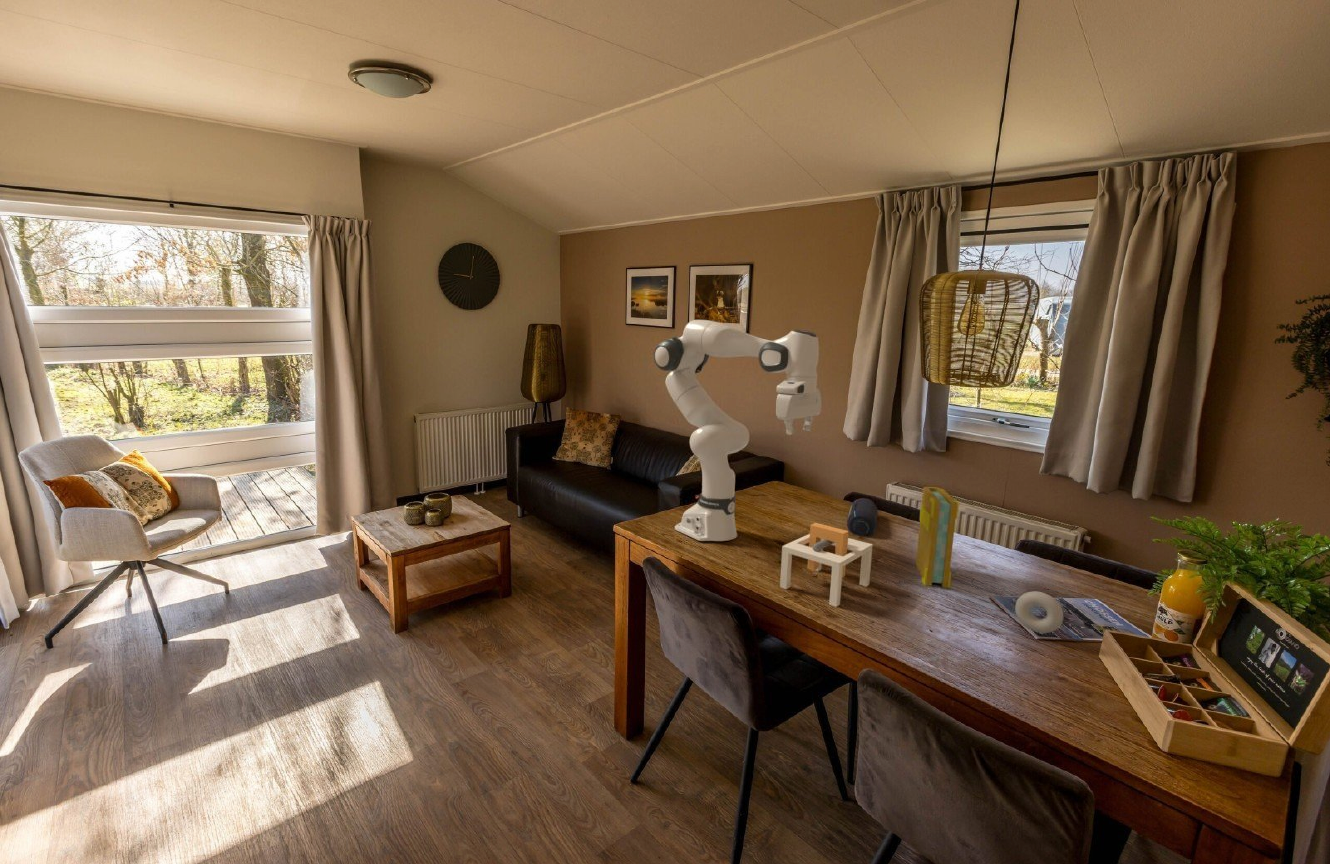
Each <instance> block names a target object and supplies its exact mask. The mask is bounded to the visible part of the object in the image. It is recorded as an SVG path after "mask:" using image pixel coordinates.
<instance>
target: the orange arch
mask: <svg viewBox="0 0 1330 864" xmlns="http://www.w3.org/2000/svg"><path fill="white" fill-rule="evenodd" d="M809 527H810V528H809V534H810V538H809V542H808V547H813V545H814V544H816V543H818V542H820V541H821V538H822V539H825V540H829V541H832V542H836V546H835V549H834V550H835V551H834V554H836V555H839V556H845V555H847V554H848V549H847V545H848V538H849V532H850V531H849V530H845V529H842V528H837V527H834V526H829V525H825V524H821V523H818V522H813V523H812V524H810V526H809ZM818 568H819V562H816V561H812V560H809V559H807V568H806V569H807V570H810V571H813V572H814V571H815V570H816V569H818ZM846 569H847V564H846V565H845V566H843V570H842V579H843V578H844V577H845V576H846Z"/></svg>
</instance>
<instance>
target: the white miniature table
mask: <svg viewBox="0 0 1330 864" xmlns="http://www.w3.org/2000/svg"><path fill="white" fill-rule="evenodd" d="M809 538H810V533H808V534H806V535H804V536H802V537H799V538H798V539H795V540H793V541H790V542H788V543H786V544H784V545H782V546H781V547H782V548H781V564H780V579H779V581H780V582H779V588H782V589H784V590H787V589H789V588H791V578H792V577H791V576H792V561H793V560H792V559H793V556H796V557H800V558H802V559H806V560H808V559H809V560H812V561H816V562H819V568H818V569H816V570H814V571H815V572H819V571H821V570H822V566H823V565H826V566H829V567H831V574H830V575H831V578H830V590H829V591H830V592H829V602H828V603H829V604H828V605H830V606H833V607H834V608H835V607H838V606H840V605H841V593H842V581H843V578H842V570H843V566H845V565H846V566H847V565H849V564H850V563H852V562H853V561H854V560H857V559H858V558H860V557H861V558H860V559H861V561H860V574H859V585H860V586H862V587H868V586H869V585H870V579H871V578H870V577H871V570H872V569H871V567H872V555H873V546H874V545H873V543H868V542H865V541H861V540H857V539H853V538H849V537H848V545H847V551H851V552H849V553H847V555H845V556H839V555H836V554H835V553H832V552H828V551H824V549H825V548H827V547H829V546H835V547H836V542H832V541H829V540H825V539H822V538H821V541H820V542H818V543H816V544H814V545H813V547H809V545H808V546H807V545H806V544H809Z"/></svg>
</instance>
